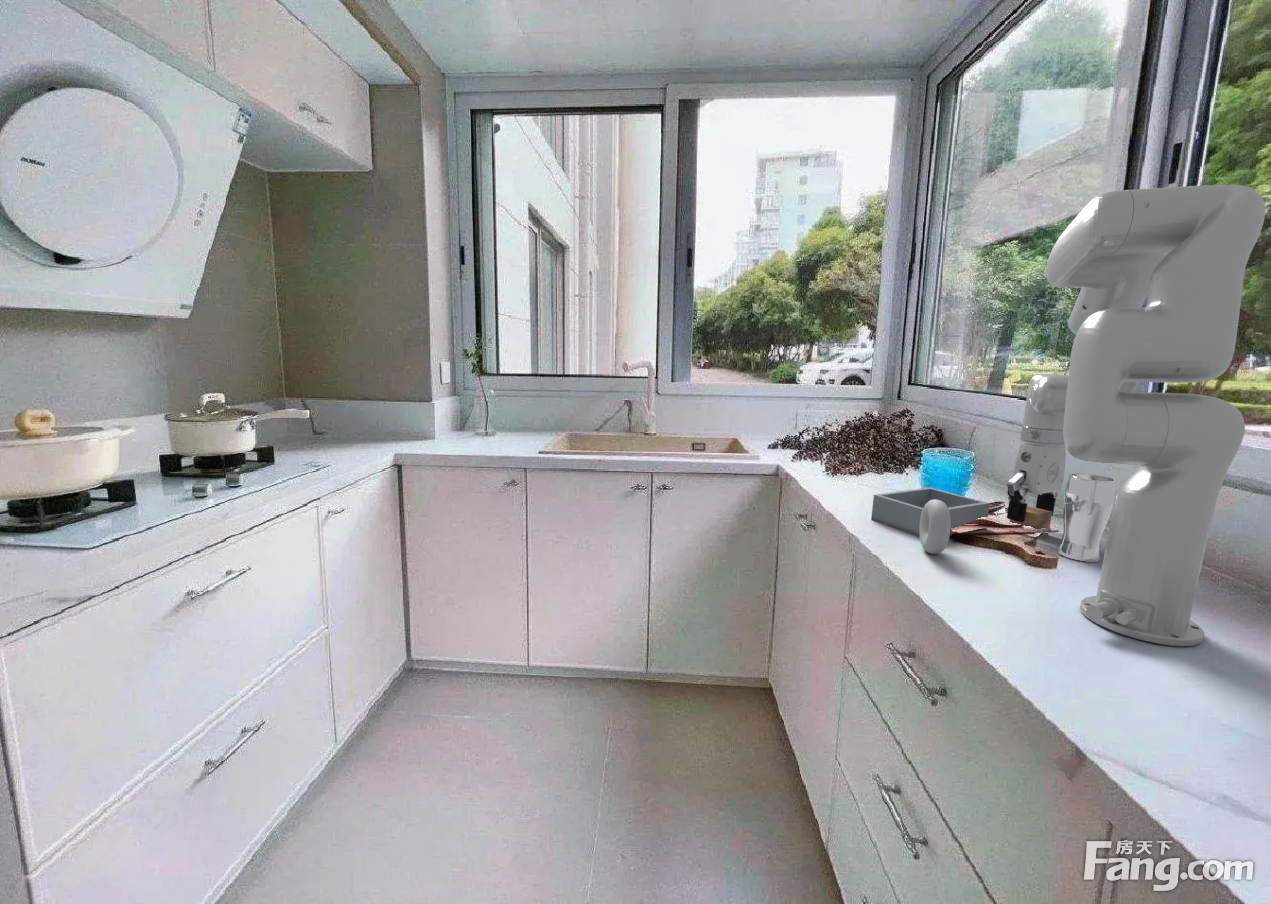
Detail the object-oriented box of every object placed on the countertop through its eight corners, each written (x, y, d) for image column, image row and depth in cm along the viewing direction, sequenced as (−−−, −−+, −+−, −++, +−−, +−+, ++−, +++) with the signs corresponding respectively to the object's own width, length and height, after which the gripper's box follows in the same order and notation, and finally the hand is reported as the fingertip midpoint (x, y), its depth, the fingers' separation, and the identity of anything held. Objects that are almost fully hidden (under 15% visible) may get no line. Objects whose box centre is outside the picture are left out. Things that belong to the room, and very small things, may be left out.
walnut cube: (1033, 538, 111) (1037, 514, 110) (1008, 530, 116) (1011, 507, 115) (1048, 535, 113) (1052, 511, 113) (1022, 527, 118) (1026, 505, 117)
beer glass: (1111, 565, 97) (1127, 482, 95) (1067, 561, 99) (1081, 480, 96) (1088, 551, 104) (1102, 474, 101) (1046, 548, 105) (1059, 471, 103)
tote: (928, 539, 109) (932, 512, 108) (871, 519, 121) (873, 494, 120) (986, 528, 116) (989, 503, 115) (926, 510, 129) (929, 487, 128)
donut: (948, 563, 97) (956, 508, 95) (927, 561, 97) (934, 506, 96) (934, 544, 106) (941, 494, 104) (915, 542, 107) (921, 492, 105)
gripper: (1037, 442, 104) (1023, 528, 107) (1088, 436, 111) (1073, 517, 115) (997, 435, 111) (985, 517, 114) (1048, 431, 118) (1035, 507, 121)
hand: (1029, 517), depth 114 cm, fingers open, 9 cm apart
